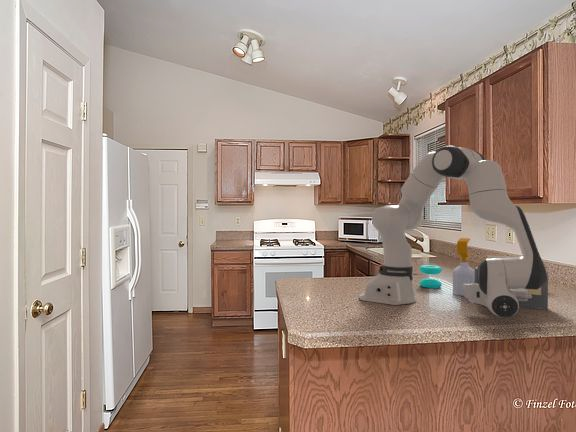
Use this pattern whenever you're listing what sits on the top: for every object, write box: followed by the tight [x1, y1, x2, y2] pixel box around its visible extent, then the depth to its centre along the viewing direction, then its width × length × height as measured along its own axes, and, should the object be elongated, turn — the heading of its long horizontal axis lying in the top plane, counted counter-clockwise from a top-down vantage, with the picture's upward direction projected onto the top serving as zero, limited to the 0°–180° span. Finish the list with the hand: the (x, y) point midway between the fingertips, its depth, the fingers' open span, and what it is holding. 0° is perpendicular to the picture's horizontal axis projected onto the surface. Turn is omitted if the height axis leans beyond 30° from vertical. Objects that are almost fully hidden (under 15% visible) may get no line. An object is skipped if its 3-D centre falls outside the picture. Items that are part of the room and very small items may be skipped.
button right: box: [527, 287, 541, 295], centre depth 136 cm, size 4×7×4 cm, turn 158°
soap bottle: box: [452, 237, 475, 297], centre depth 160 cm, size 9×9×25 cm
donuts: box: [419, 264, 443, 289], centre depth 177 cm, size 10×10×10 cm
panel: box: [474, 255, 549, 310], centre depth 141 cm, size 24×3×19 cm, turn 68°
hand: (491, 287), depth 136 cm, fingers closed
